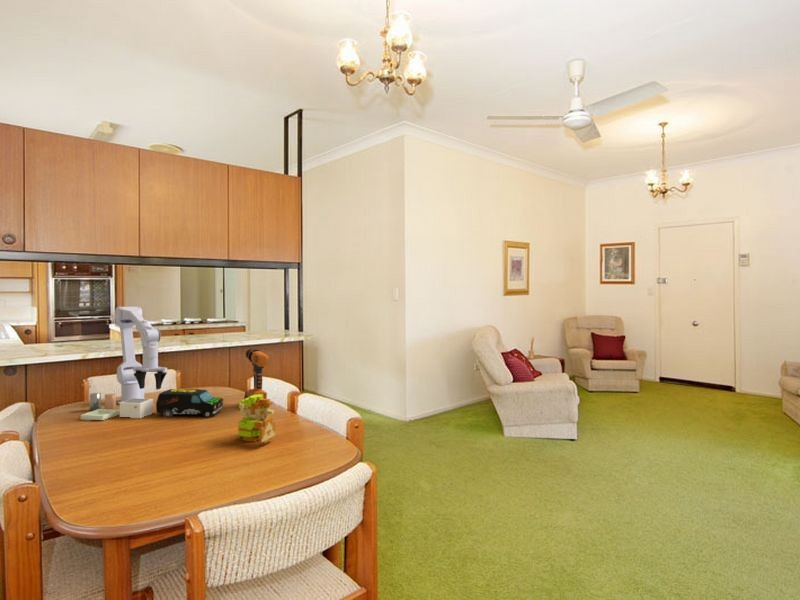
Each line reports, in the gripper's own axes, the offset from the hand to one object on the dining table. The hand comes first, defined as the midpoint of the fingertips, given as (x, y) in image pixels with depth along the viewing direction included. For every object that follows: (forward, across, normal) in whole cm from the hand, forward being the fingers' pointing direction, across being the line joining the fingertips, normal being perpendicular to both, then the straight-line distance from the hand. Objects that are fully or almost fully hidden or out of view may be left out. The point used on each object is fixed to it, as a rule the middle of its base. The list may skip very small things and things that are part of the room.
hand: (150, 388), depth 200 cm
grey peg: (+9, -23, -4) cm, 25 cm away
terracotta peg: (+9, -16, -4) cm, 19 cm away
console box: (+9, 0, -8) cm, 13 cm away
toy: (+10, +61, -30) cm, 68 cm away
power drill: (+10, +39, +18) cm, 44 cm away
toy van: (+10, +20, -3) cm, 23 cm away
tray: (+9, -12, -14) cm, 20 cm away
